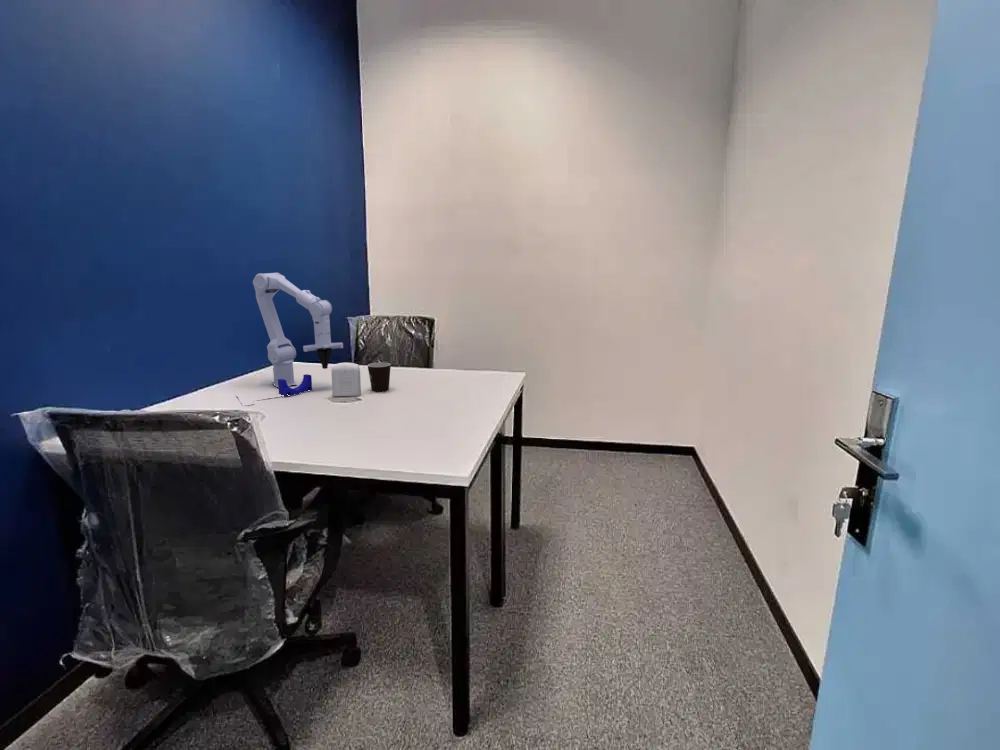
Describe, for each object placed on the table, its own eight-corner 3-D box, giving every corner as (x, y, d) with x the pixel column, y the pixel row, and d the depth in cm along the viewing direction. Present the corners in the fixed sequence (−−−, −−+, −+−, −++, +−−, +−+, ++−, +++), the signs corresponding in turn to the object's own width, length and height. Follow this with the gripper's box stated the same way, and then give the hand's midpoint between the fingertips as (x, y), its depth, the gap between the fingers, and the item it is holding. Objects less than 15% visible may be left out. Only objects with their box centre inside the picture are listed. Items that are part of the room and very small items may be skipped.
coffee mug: (389, 393, 211) (388, 367, 209) (366, 393, 212) (365, 367, 209) (395, 385, 223) (394, 361, 221) (373, 385, 223) (372, 360, 221)
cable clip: (285, 397, 205) (284, 381, 204) (279, 395, 208) (277, 379, 207) (314, 391, 214) (313, 375, 213) (307, 389, 217) (306, 374, 216)
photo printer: (362, 393, 211) (360, 361, 208) (360, 396, 207) (358, 363, 204) (333, 394, 210) (331, 362, 207) (332, 397, 206) (329, 364, 203)
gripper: (305, 335, 205) (308, 372, 208) (344, 332, 212) (346, 367, 215) (300, 333, 211) (303, 368, 214) (339, 330, 218) (341, 364, 221)
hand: (324, 368), depth 215 cm, fingers closed
